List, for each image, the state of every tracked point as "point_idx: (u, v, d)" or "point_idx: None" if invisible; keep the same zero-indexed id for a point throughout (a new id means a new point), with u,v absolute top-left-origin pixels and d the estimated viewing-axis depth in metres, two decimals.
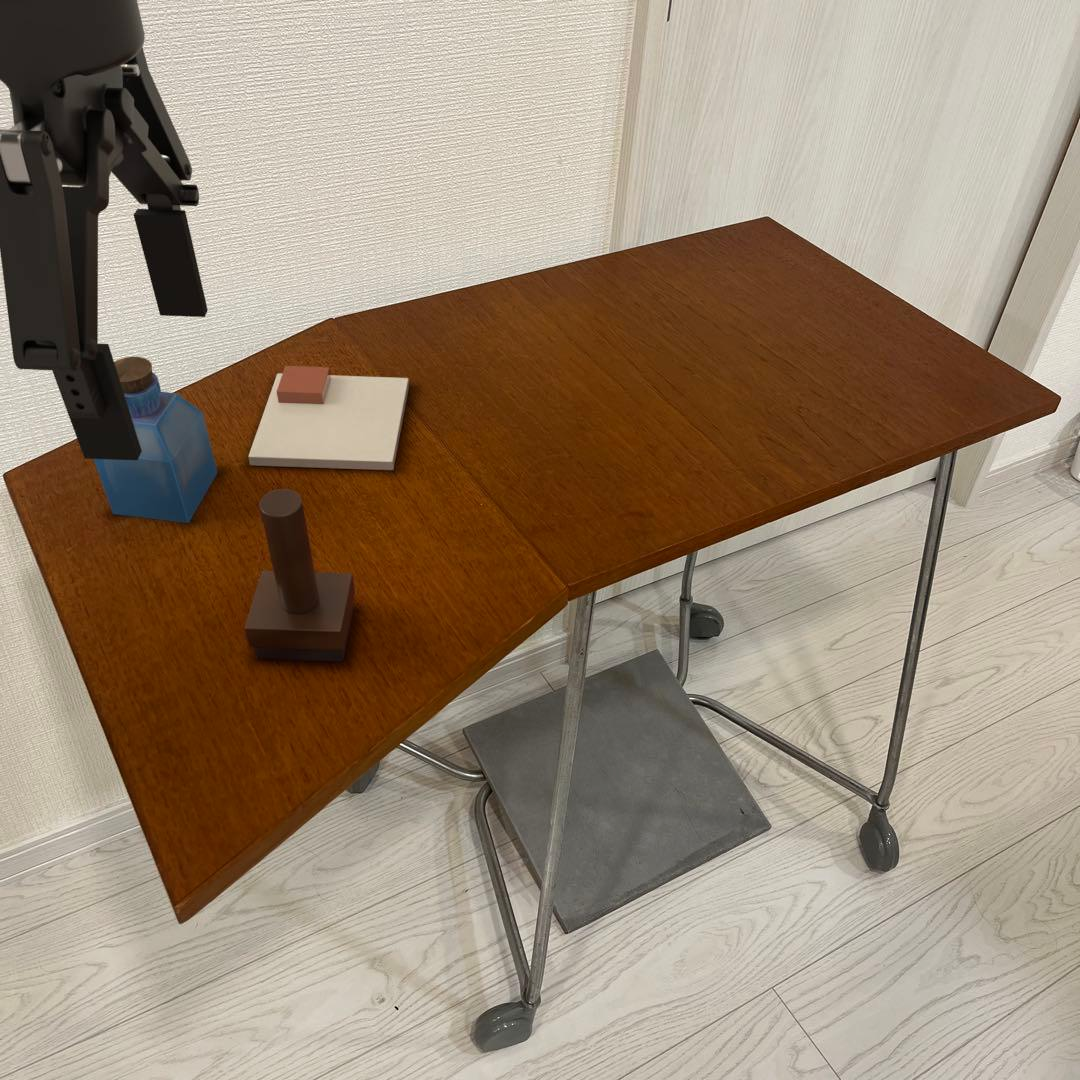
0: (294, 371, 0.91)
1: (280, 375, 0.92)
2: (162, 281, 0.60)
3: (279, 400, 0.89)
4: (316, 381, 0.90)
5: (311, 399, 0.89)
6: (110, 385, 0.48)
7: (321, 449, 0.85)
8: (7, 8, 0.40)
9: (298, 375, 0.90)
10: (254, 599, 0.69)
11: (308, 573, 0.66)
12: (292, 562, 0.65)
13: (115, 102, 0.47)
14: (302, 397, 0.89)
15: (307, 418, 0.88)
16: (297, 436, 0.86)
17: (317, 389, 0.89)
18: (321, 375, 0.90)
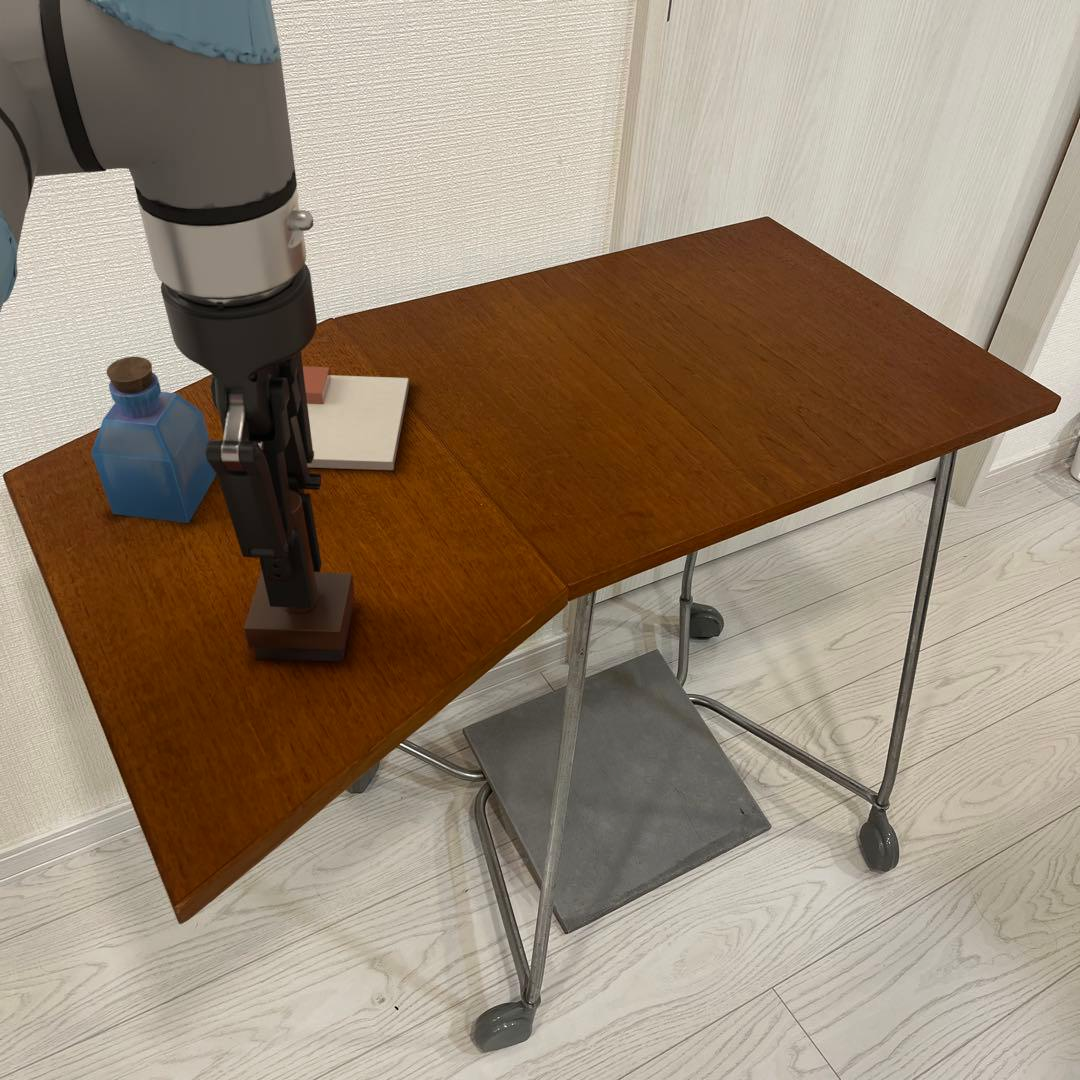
0: None
1: None
2: None
3: None
4: (316, 381, 0.90)
5: (311, 399, 0.89)
6: (299, 558, 0.63)
7: (321, 449, 0.85)
8: (223, 326, 0.50)
9: None
10: (253, 599, 0.69)
11: None
12: None
13: (286, 365, 0.57)
14: None
15: None
16: None
17: (317, 389, 0.89)
18: (321, 375, 0.90)
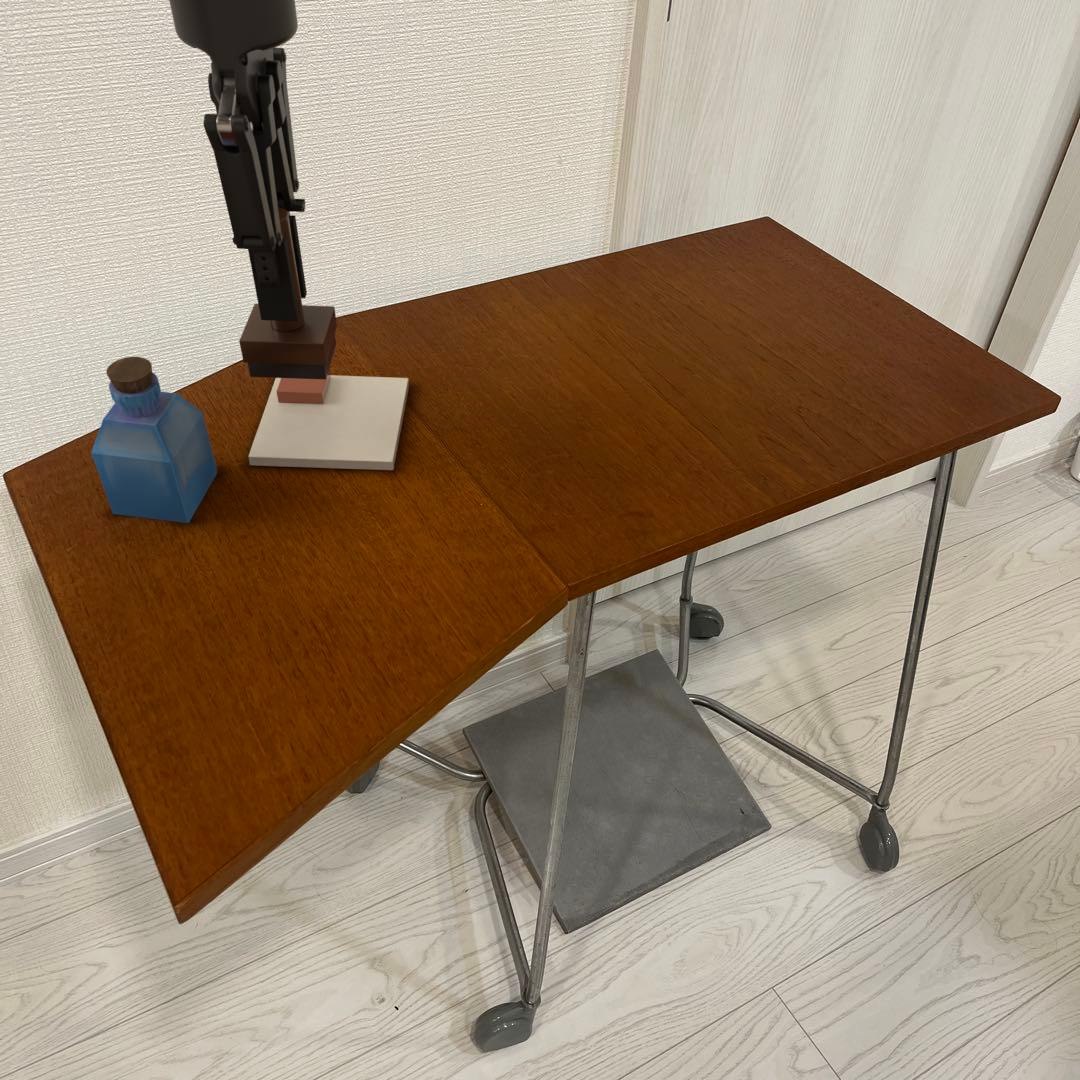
0: None
1: None
2: None
3: (279, 400, 0.89)
4: (316, 381, 0.90)
5: (311, 399, 0.89)
6: (286, 265, 0.73)
7: (321, 449, 0.85)
8: (218, 4, 0.59)
9: None
10: (248, 322, 0.79)
11: None
12: None
13: (272, 70, 0.66)
14: (302, 397, 0.89)
15: (307, 418, 0.88)
16: (297, 436, 0.86)
17: (317, 389, 0.89)
18: None
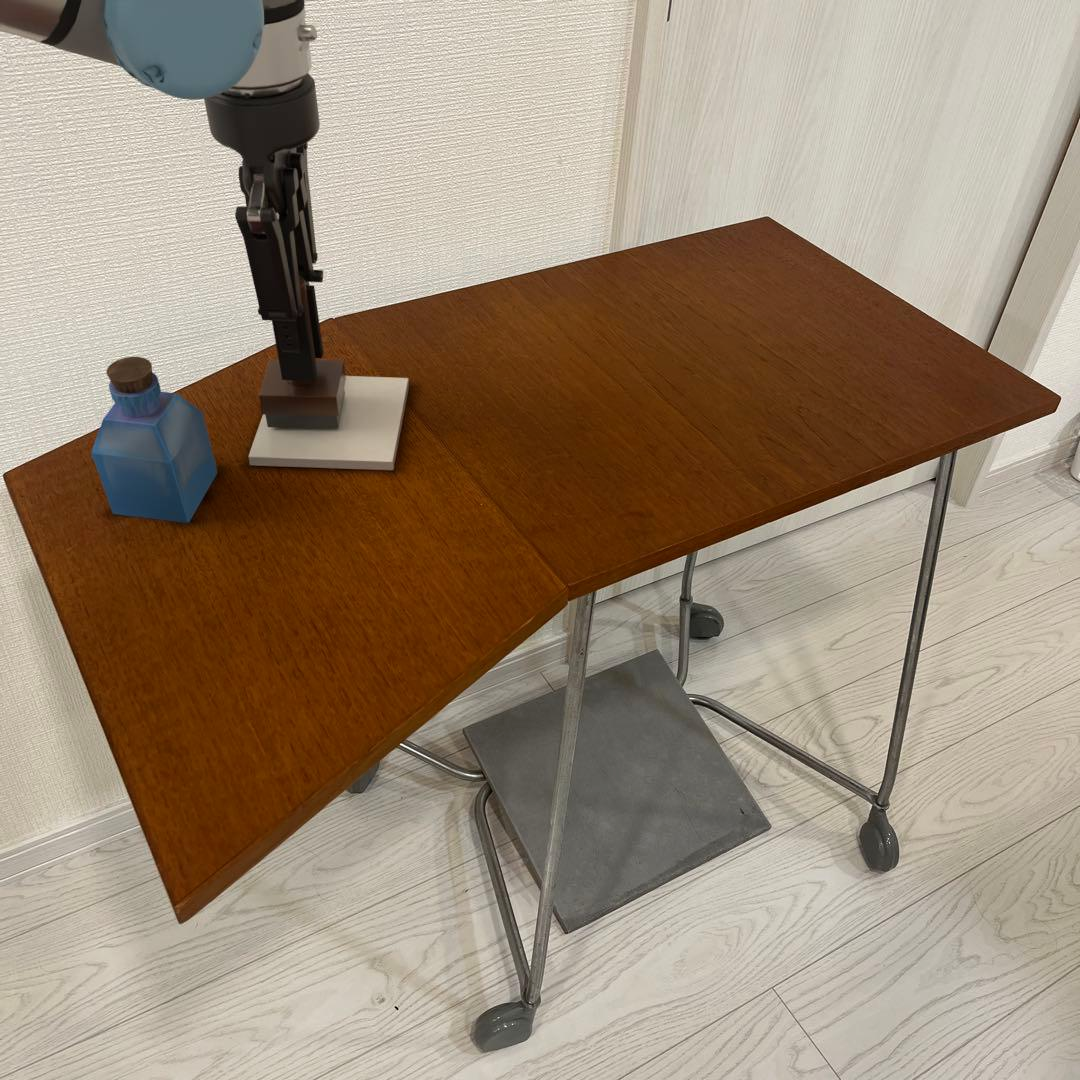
0: None
1: None
2: None
3: None
4: None
5: None
6: (306, 332, 0.80)
7: (321, 449, 0.85)
8: (250, 112, 0.66)
9: None
10: (265, 377, 0.85)
11: None
12: None
13: (296, 162, 0.73)
14: None
15: None
16: (297, 436, 0.86)
17: None
18: None
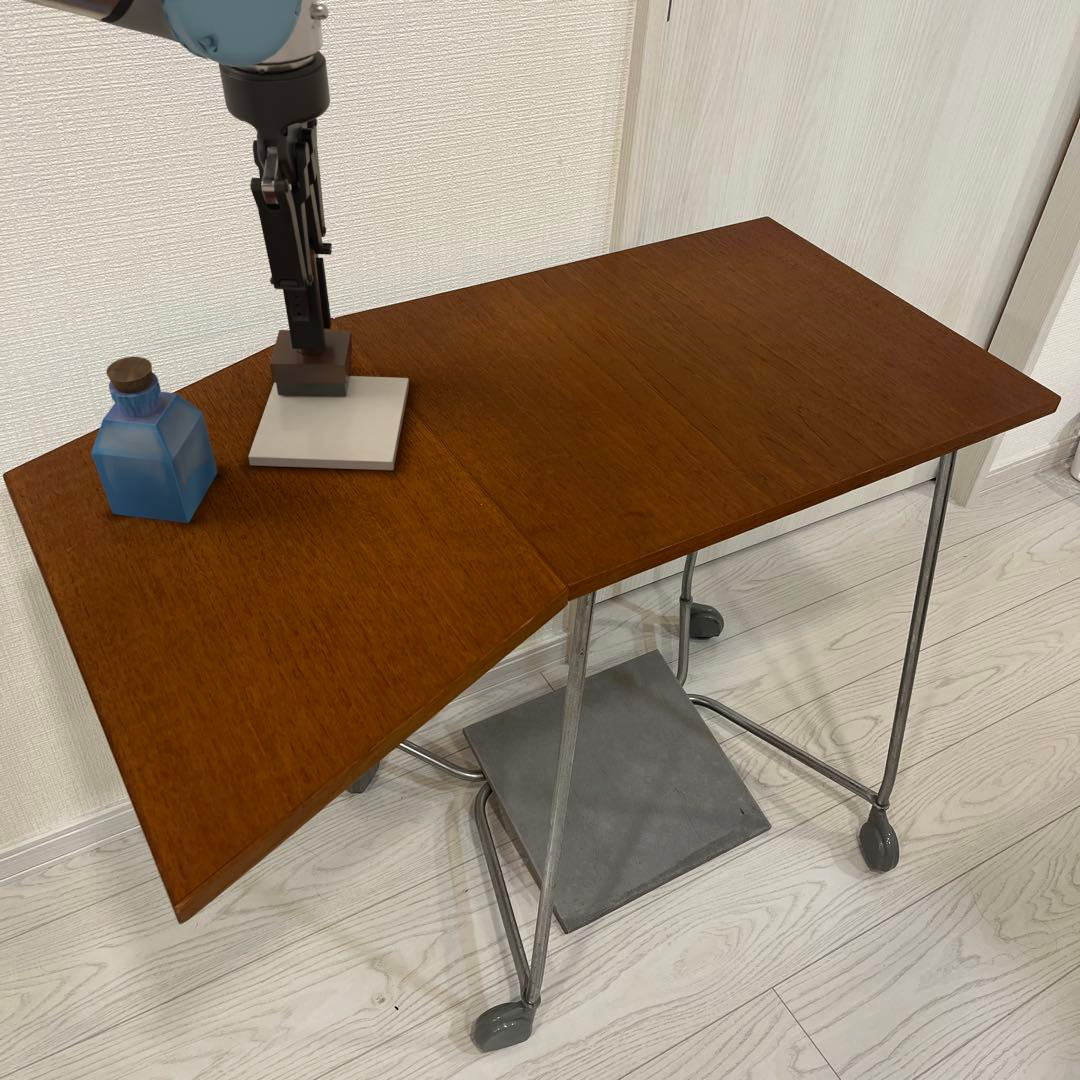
0: None
1: None
2: None
3: None
4: None
5: None
6: (315, 302, 0.84)
7: (321, 449, 0.85)
8: (264, 86, 0.70)
9: None
10: (275, 346, 0.89)
11: None
12: None
13: (307, 137, 0.77)
14: None
15: (307, 418, 0.88)
16: (297, 436, 0.86)
17: None
18: None
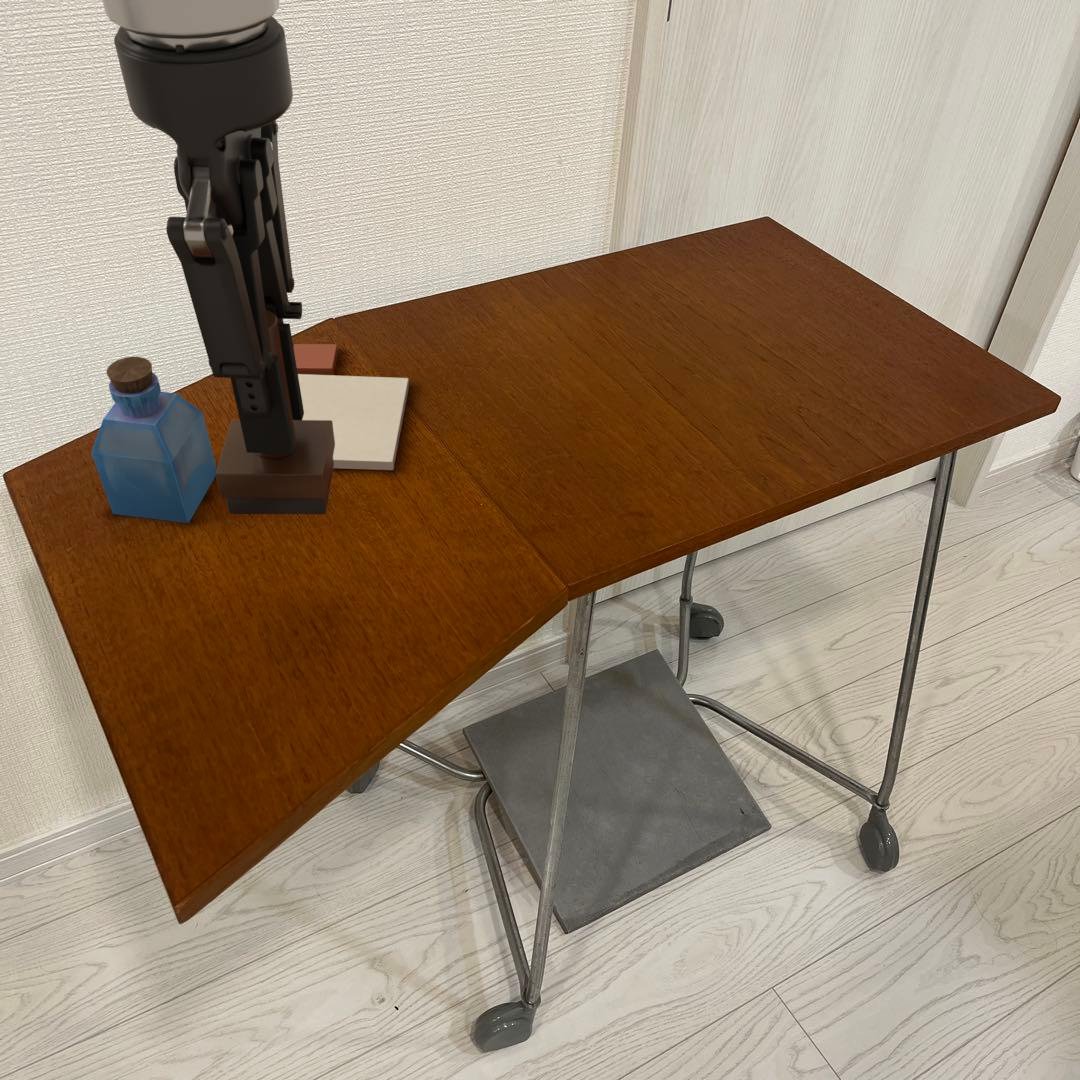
0: (303, 348, 0.95)
1: None
2: None
3: None
4: (325, 357, 0.94)
5: (322, 374, 0.94)
6: (278, 390, 0.57)
7: None
8: (184, 73, 0.44)
9: (307, 352, 0.95)
10: (224, 446, 0.63)
11: None
12: None
13: (260, 151, 0.51)
14: (313, 372, 0.94)
15: (307, 418, 0.88)
16: None
17: (327, 364, 0.94)
18: (330, 351, 0.95)
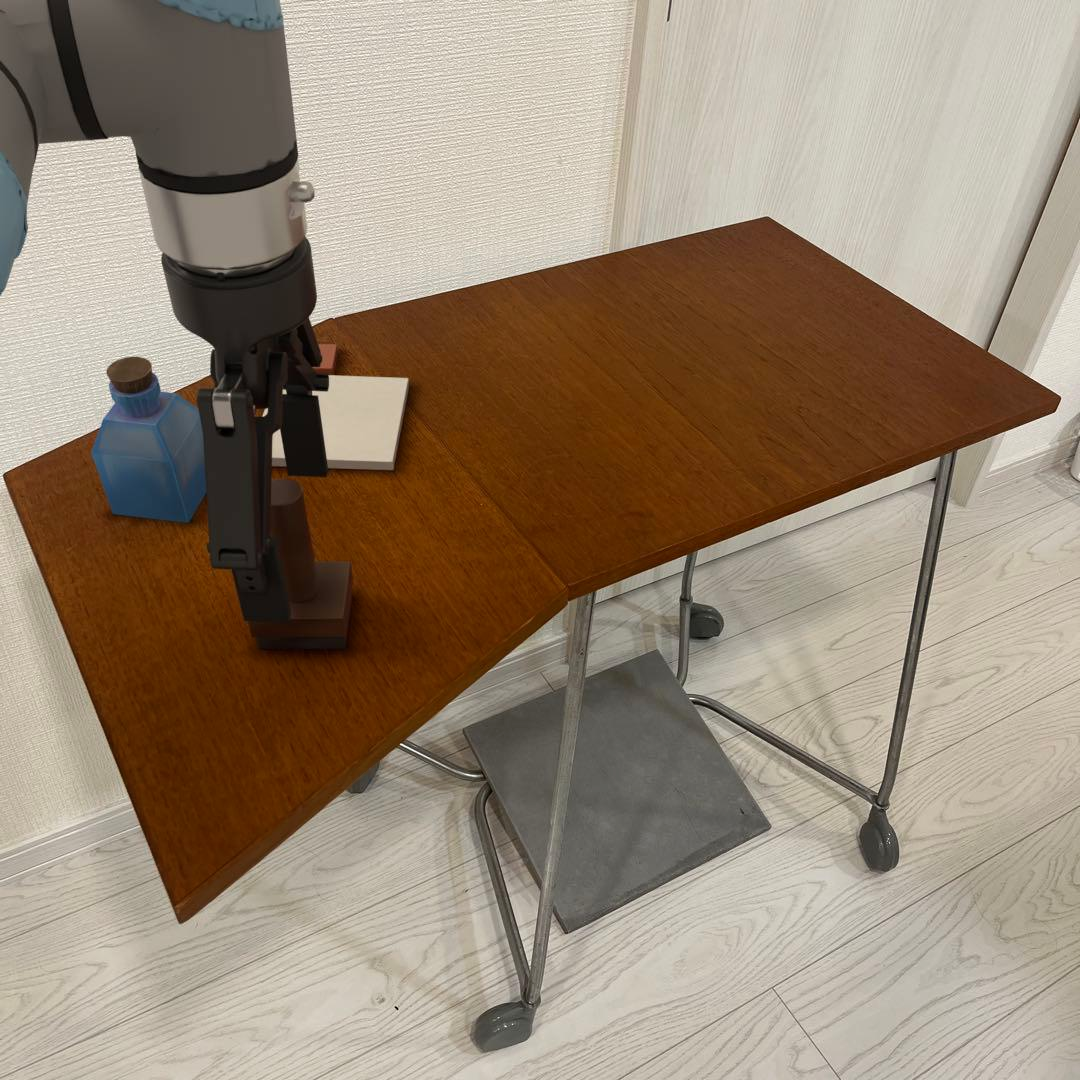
0: None
1: None
2: (293, 450, 0.70)
3: None
4: (325, 357, 0.94)
5: None
6: (275, 569, 0.58)
7: None
8: (224, 296, 0.50)
9: None
10: None
11: (309, 561, 0.67)
12: (294, 551, 0.66)
13: (286, 340, 0.57)
14: None
15: None
16: None
17: (327, 364, 0.94)
18: (330, 351, 0.95)
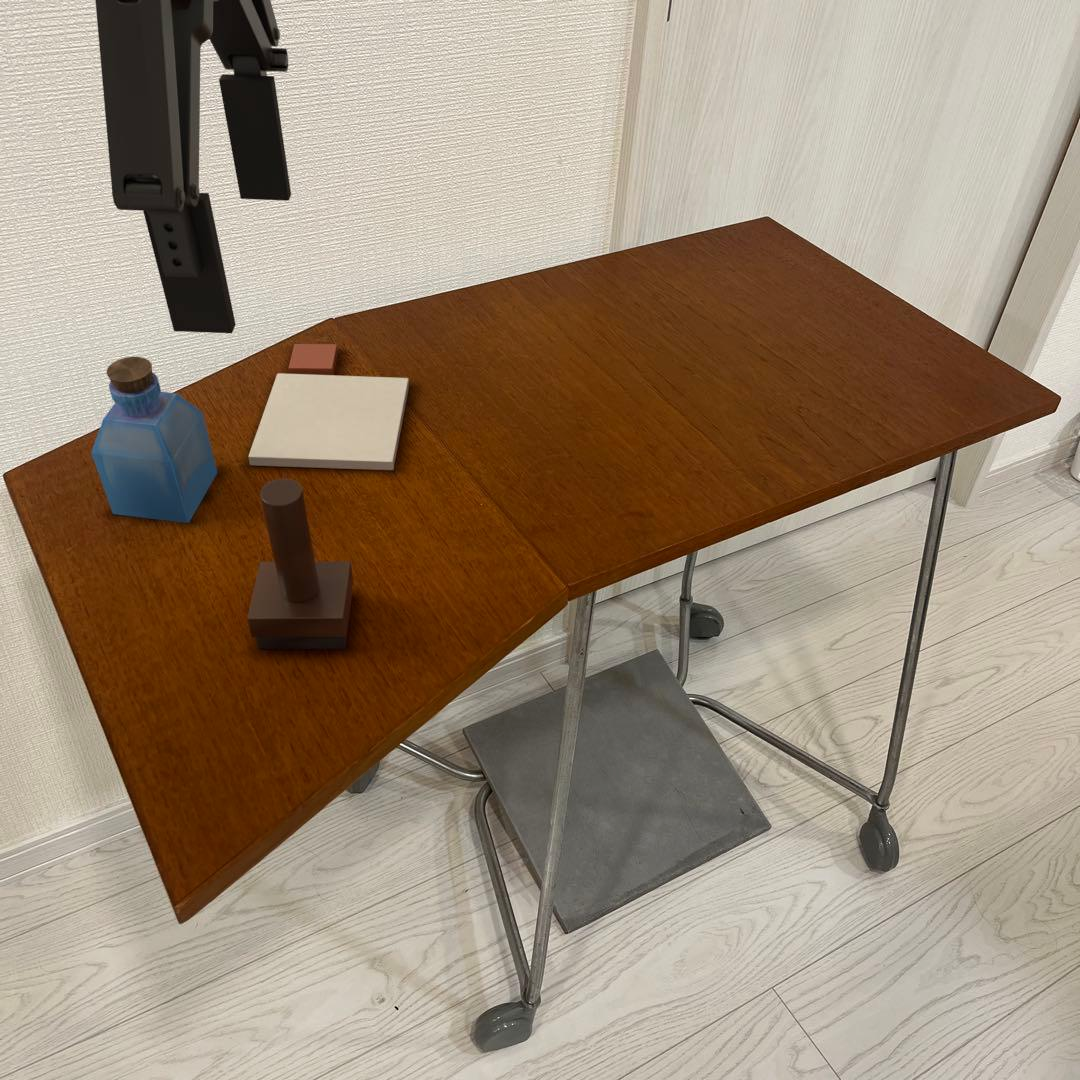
0: (303, 348, 0.95)
1: (280, 375, 0.92)
2: (245, 158, 0.55)
3: None
4: (325, 357, 0.94)
5: (322, 374, 0.94)
6: (209, 241, 0.44)
7: (321, 449, 0.85)
8: None
9: (307, 352, 0.95)
10: (255, 590, 0.70)
11: (309, 561, 0.67)
12: (294, 551, 0.66)
13: None
14: (313, 372, 0.94)
15: (307, 418, 0.88)
16: (297, 436, 0.86)
17: (327, 364, 0.94)
18: (330, 351, 0.95)
